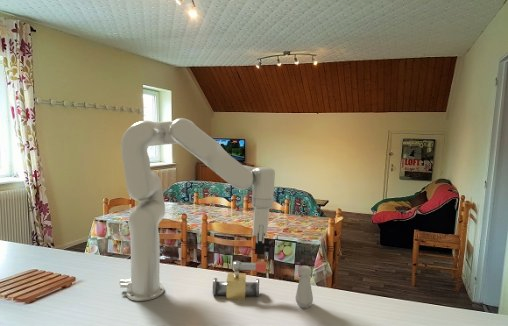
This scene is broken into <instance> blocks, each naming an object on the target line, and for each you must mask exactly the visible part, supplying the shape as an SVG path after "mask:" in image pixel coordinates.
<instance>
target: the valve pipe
mask: <svg viewBox="0 0 508 326" xmlns="http://www.w3.org/2000/svg"><path fill="white" fill-rule="evenodd" d="M233 271H234V270H233ZM246 275H247V274H246V273H245V272H244V273H243V272H242V273H241V272H240V270H239V271H234V272H228V273H227V277H226V281H218V278H217V277H213V279H212V280H213V281H212V296H225V298H226V300H246V296H249V297H250V296H251V297H260V279H259V278H256V280H255V282H254V281H248V282H247V278H246V277H247V276H246Z"/></svg>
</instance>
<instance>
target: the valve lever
mask: <svg viewBox="0 0 508 326" xmlns="http://www.w3.org/2000/svg"><path fill="white" fill-rule="evenodd" d="M232 270H233V271H239V272H240V271H241V270H243V271H244V270H245V271H255V272H256V273H267V261H255V262H242V261H240V260H233V261H232Z"/></svg>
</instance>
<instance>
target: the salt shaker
mask: <svg viewBox="0 0 508 326" xmlns="http://www.w3.org/2000/svg"><path fill="white" fill-rule="evenodd" d="M312 272H313V270H312V268H311V267H310V266H308V265H301V266H300V267H299V268H298V274H299V280H298V285H297V289H296V294H295V302H296V304H297V306H298V307H299V308H301V309H308V308H310V307H311V306H312V303H313V302H314V295H313V289H312V283H311V276H312Z"/></svg>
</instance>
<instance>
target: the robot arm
mask: <svg viewBox="0 0 508 326" xmlns="http://www.w3.org/2000/svg"><path fill="white" fill-rule="evenodd" d="M174 144H175V145H176V144H178V145H179V146H181V147H182V148H183V149H185V150H186V151H188V153H190V154H191V155H193V156H194V157H195V158H197V159H198V160H199V161H201V162H202V163H203V164H204V165H205V166H207V168H209V169H210V170H211V171H212V172H214V173H215V174H216V175H217V176H219V177H220V178H221V179H223V180H224V181H225V182H227V183H228V184H229V185H231V186H232V187H233V188H235V189H236V190H240V191H245V190H247V189H249V188H251V187H252V191H251V192H252V193H251V195H252V196H251V208H253V216H252V217H253V218H252V237H256V238H255V239H256V240H255V243H254V254H255V255H264V254H265V237H267V235H268V228H269V218H270V217H269V216H270V209H273V207H274V195H275V179H276V178H275V177H276V172H275V171H276V170H274V168H272V167H265V166H258V167H255V166H250V165H246V164H245V165H244V164H242V163H241V162H239V161H238V160H237V159H236V158H234V157H233V156H231V155H230V154H229V153H228V152H227V151H226V150H225V149H224V148H223V147H222V145H221V144H220V143H219V142H218V141H217V140H216V139H214V138H213V137H211V136H210V135H208V134H207V133H206V132H205V131H204V130H202V129H201V128H200V127H198V126H197V125H196V124H195V123H194V122H193V121H192V120H190V119H187V118H184V117H179V118H176V119H175V120H167V121H150V120H140V121H138V122H135V123H133V124H131V126H129V127H128V128H127V129H126V131H125V132H124V133H123V135H122V138H121V142H120V151H121V157H122V165H123V172H124V179H125V184H126V185H125V186H126V191H127V195H128V196H129V197H130V198H131V199H132V200H134V201H137V202H138V205H137V206H135V207H134V208H133V209H132V210H131V212H130V214H129V216H128V221H127V223H128V229H129V238H130V278H129V279H122V278H121V279H120V280H119V286H120V288H122V289H123V288H124V289H125V288H126V289H127V290H126V291H125V294H126V297H127V298H128V299H130V300H131V301H135V302H145V301H151V300H154V299H156V298H159V296H160V297H161V295H162V294H163V293H164V291H165V286H164V284H163V283H161V282H160V279H161V278H160V272H161V271H160V268H161V267H160V263H161V262H160V257H161V256H160V253H161V252H160V250H161V249H160V248H161V247H160V233H159V224H160V223H161V222H162V220H163V219H164V217H165V214H166V206H165V198H164V193H163V191H164V190H163V186H162V184H163V183H162V180H161V178H160V176H159V175H158V174H157V173H156V172H155V171H152V168H151V162H150V161H151V160H150V157H149V153H148V148H149V147H150V146H151V147H153V146H161V145H162V146H164V145H165V146H166V145H174Z"/></svg>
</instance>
